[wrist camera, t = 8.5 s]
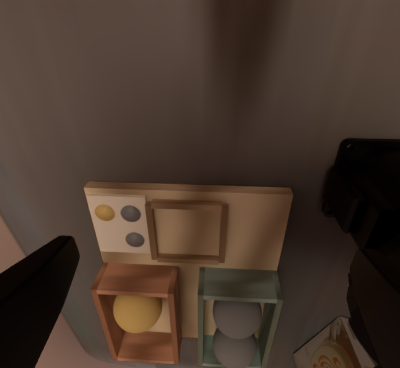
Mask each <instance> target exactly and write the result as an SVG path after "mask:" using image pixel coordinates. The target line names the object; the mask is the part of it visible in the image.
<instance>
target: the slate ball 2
mask: <svg viewBox="0 0 400 368" xmlns="http://www.w3.org/2000/svg"><path fill="white" fill-rule="evenodd" d="M213 350H214V353H215V356H216V358H217V359H218V361H219V362H220V363H221V364H222V365H223V366H225V367H227V368H245V367H247V366H248V365H249V364H250V363H251V362H252V361H253V359H254V357H255V355H256V350H257V342H256V337H255V335H254V334H252V335H251V336H249V337H247V338H244V339H233V338H230V337H228V336H226V335H224V334H223V333H222V332H221V331H220V330H219V329H218V327H217V329H216V330H215V333H214V336H213Z"/></svg>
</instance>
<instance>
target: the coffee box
mask: <svg viewBox="0 0 400 368" xmlns="http://www.w3.org/2000/svg"><path fill="white" fill-rule="evenodd" d="M293 356H294V360H295V364H296V368H373V367H375V366H376V365H377V364H376V363H375V362H374V361H373V360H372V359H371V358H370V357H369V356H368V354H367V353H366V352H365V350H364V349H363V347H362V346H361V345H360V343H359V342H358V340H357V339H356V337H355V335H354V333H353V331H352V329H351V328H350V325H349V322H348V318H345V317H342V316H339V317H338V318H337V319H335V320H334V321H333V322H332V323H330V324H329V325H328V326H327V327H326V328H325V329H323V330H322V331H321V332H320V333H318V334H317V335H316V336H315V337H314V338H312V339H311V340H310V341H309V342H308V343H306V344H305V345H304V346H303V347H302V348H300V349H299V350H298V351H297V352H296V353H294V355H293Z"/></svg>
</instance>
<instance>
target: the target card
mask: <svg viewBox="0 0 400 368" xmlns="http://www.w3.org/2000/svg"><path fill="white" fill-rule="evenodd" d="M86 197H87V201H88V205H89V209H90V212H91V216H92V220H93V224H94V228H95V231H96V235H97V239H98V243H99V247H100V251H104V252H126V253H148V254H151V251H150V243H149V235H148V228H147V220H146V212H145V203H146V195H122V194H92V193H88V194H87V195H86Z"/></svg>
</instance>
